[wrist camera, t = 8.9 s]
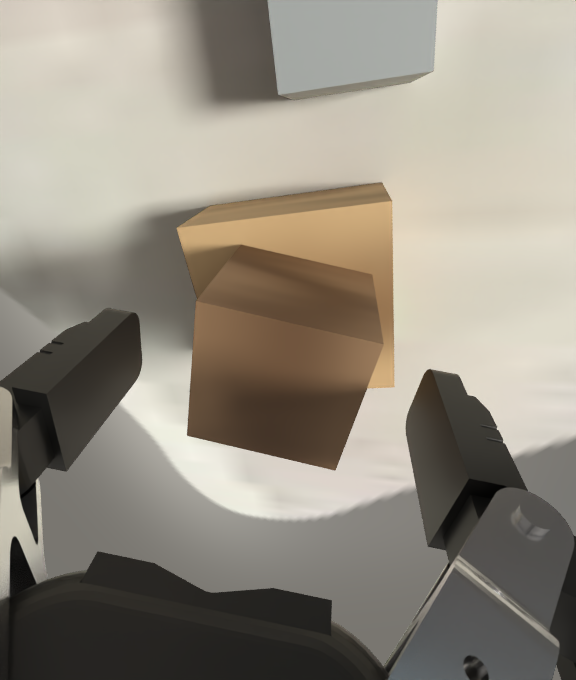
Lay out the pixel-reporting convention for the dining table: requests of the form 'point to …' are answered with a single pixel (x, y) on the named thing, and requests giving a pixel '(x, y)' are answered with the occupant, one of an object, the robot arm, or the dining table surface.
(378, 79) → the slate-grey cube
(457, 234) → the dining table surface
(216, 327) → the walnut cube
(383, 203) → the teak block
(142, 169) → the dining table surface
